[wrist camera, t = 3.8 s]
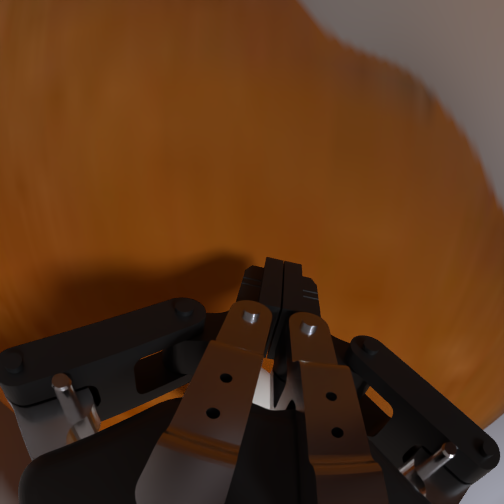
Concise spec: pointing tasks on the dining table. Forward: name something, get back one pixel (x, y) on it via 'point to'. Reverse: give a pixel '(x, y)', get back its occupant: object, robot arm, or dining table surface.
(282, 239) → the dining table surface
